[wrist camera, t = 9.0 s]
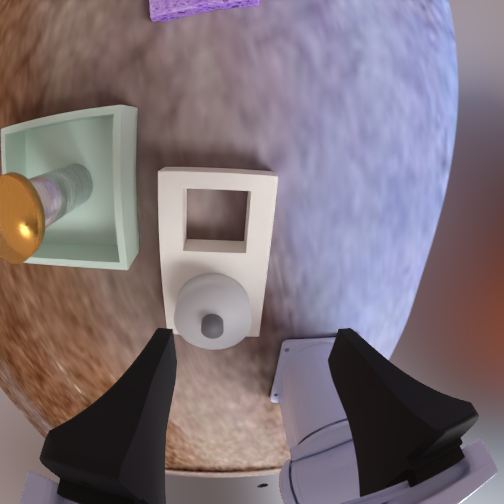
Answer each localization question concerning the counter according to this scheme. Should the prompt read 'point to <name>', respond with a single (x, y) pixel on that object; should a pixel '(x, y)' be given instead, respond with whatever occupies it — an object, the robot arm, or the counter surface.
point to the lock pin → (37, 207)
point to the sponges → (191, 7)
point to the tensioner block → (214, 258)
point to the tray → (103, 176)
